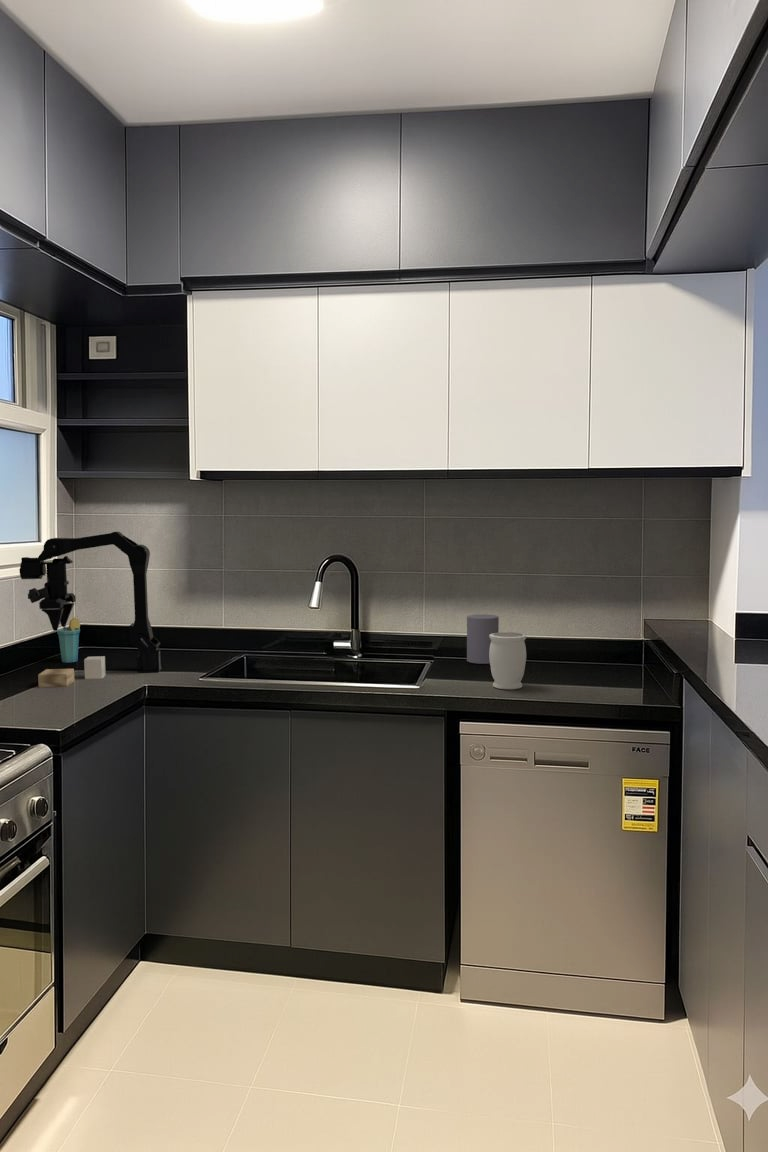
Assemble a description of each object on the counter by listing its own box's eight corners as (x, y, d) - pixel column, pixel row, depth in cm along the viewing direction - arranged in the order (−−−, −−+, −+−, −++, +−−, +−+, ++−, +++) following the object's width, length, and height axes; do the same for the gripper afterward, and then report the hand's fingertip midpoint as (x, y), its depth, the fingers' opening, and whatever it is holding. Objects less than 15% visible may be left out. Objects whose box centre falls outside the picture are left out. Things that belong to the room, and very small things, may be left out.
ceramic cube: (105, 675, 270) (104, 656, 270) (101, 678, 266) (101, 659, 265) (88, 675, 270) (88, 656, 270) (84, 679, 265) (84, 659, 265)
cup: (71, 665, 287) (70, 620, 286) (48, 665, 287) (46, 620, 286) (88, 657, 301) (86, 614, 300) (65, 657, 301) (64, 614, 300)
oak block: (74, 681, 262) (73, 668, 262) (67, 687, 254) (66, 673, 254) (46, 682, 262) (46, 669, 261) (38, 688, 254) (38, 674, 253)
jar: (516, 692, 242) (517, 638, 241) (482, 688, 248) (483, 635, 246) (531, 685, 251) (532, 633, 250) (498, 681, 257) (498, 630, 255)
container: (485, 657, 295) (485, 613, 294) (504, 662, 286) (505, 617, 285) (460, 661, 290) (460, 615, 289) (479, 665, 281) (479, 619, 280)
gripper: (39, 576, 280) (41, 625, 281) (20, 582, 261) (23, 633, 263) (74, 575, 281) (77, 624, 282) (58, 581, 262) (61, 632, 264)
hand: (59, 628), depth 273 cm, fingers open, 9 cm apart
